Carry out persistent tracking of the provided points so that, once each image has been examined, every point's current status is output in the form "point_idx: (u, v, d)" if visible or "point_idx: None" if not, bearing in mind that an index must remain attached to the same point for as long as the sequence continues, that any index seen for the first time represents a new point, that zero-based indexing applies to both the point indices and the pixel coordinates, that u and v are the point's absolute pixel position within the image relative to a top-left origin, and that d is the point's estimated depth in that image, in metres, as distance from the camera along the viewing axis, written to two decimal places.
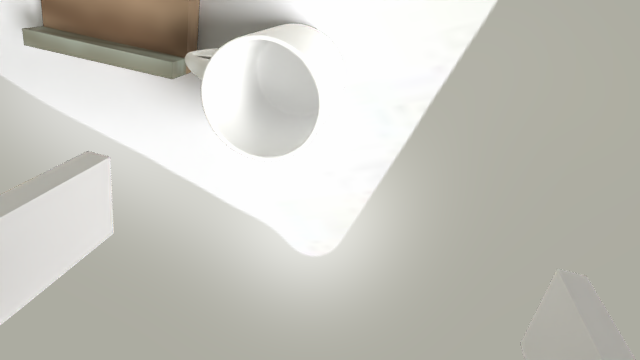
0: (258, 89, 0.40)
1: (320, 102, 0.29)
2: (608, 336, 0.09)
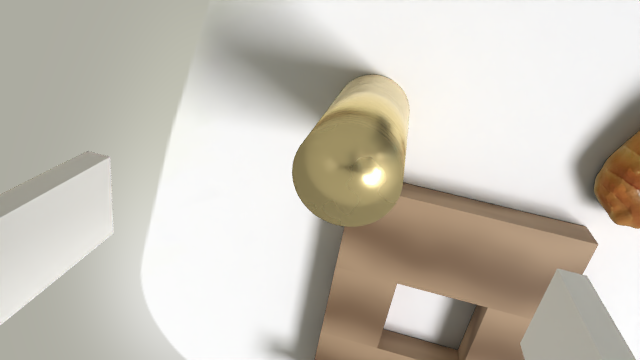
0: None
1: None
2: (608, 336, 0.09)
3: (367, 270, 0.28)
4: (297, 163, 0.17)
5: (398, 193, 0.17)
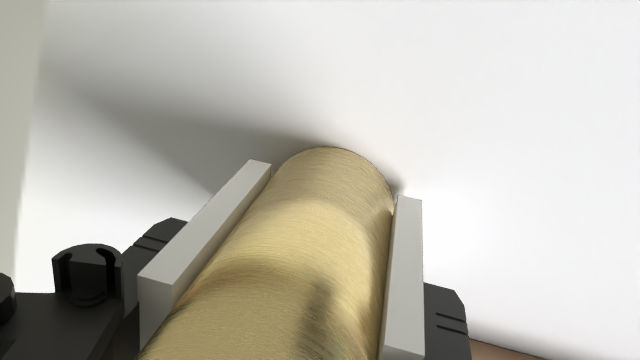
0: None
1: None
2: (410, 235, 0.12)
3: None
4: None
5: None
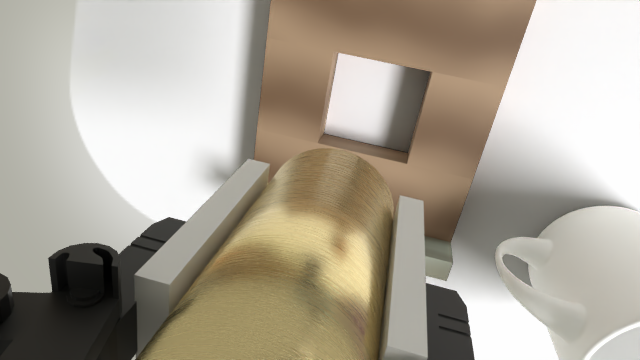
0: None
1: None
2: (412, 236, 0.12)
3: (301, 38, 0.26)
4: None
5: None
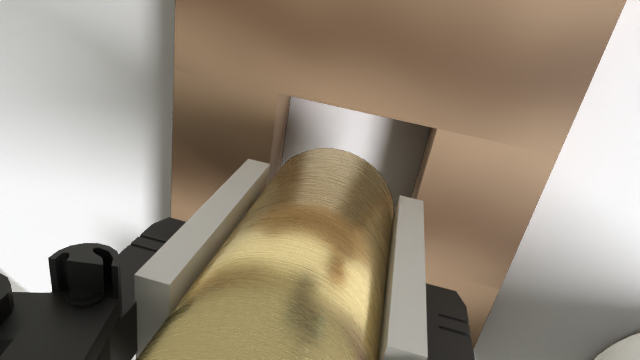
0: None
1: None
2: (412, 236, 0.12)
3: (226, 71, 0.16)
4: None
5: None
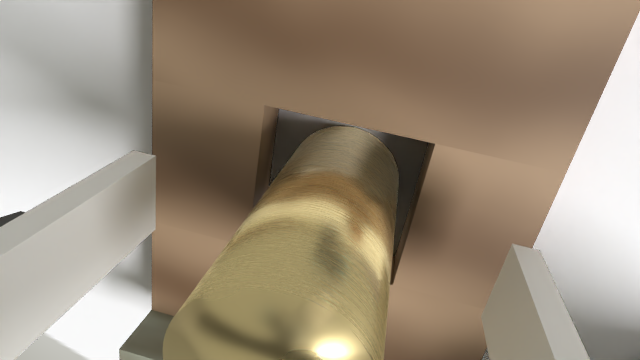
0: None
1: None
2: (550, 301, 0.10)
3: (208, 82, 0.15)
4: (171, 348, 0.09)
5: None
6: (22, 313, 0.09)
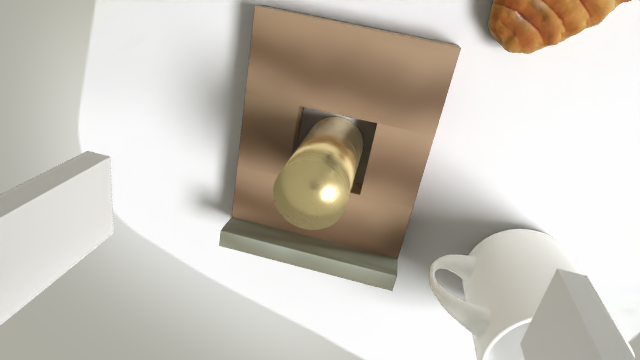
0: None
1: None
2: (608, 336, 0.09)
3: (273, 94, 0.32)
4: (276, 187, 0.26)
5: (344, 206, 0.25)
6: None
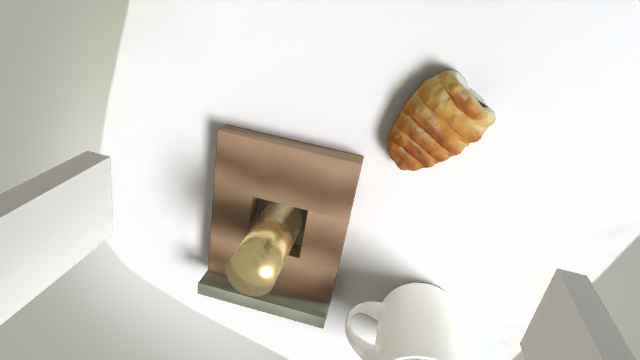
0: None
1: None
2: (608, 336, 0.09)
3: (233, 188, 0.44)
4: (227, 268, 0.38)
5: (273, 282, 0.38)
6: None
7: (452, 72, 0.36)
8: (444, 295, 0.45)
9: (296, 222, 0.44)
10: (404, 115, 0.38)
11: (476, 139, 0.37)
